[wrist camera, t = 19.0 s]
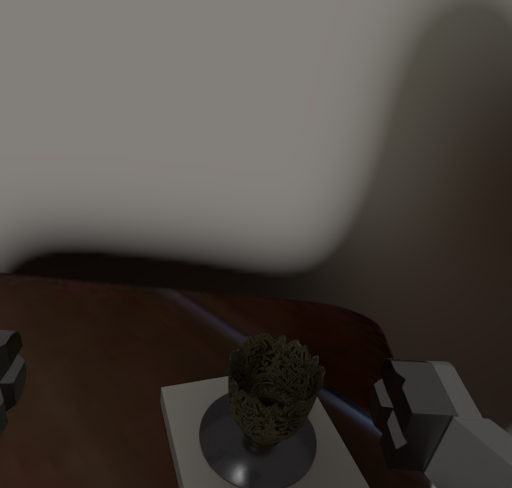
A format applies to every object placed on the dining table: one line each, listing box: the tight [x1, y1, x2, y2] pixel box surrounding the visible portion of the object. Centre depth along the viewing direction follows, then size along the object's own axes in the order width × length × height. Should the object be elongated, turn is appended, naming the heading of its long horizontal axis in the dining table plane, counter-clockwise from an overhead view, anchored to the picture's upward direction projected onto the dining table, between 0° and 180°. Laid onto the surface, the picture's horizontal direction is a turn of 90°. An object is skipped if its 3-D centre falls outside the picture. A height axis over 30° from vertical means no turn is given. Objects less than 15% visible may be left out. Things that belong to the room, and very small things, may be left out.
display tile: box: [160, 376, 369, 488], centre depth 40 cm, size 14×14×2 cm
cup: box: [228, 332, 325, 449], centre depth 37 cm, size 8×7×8 cm
